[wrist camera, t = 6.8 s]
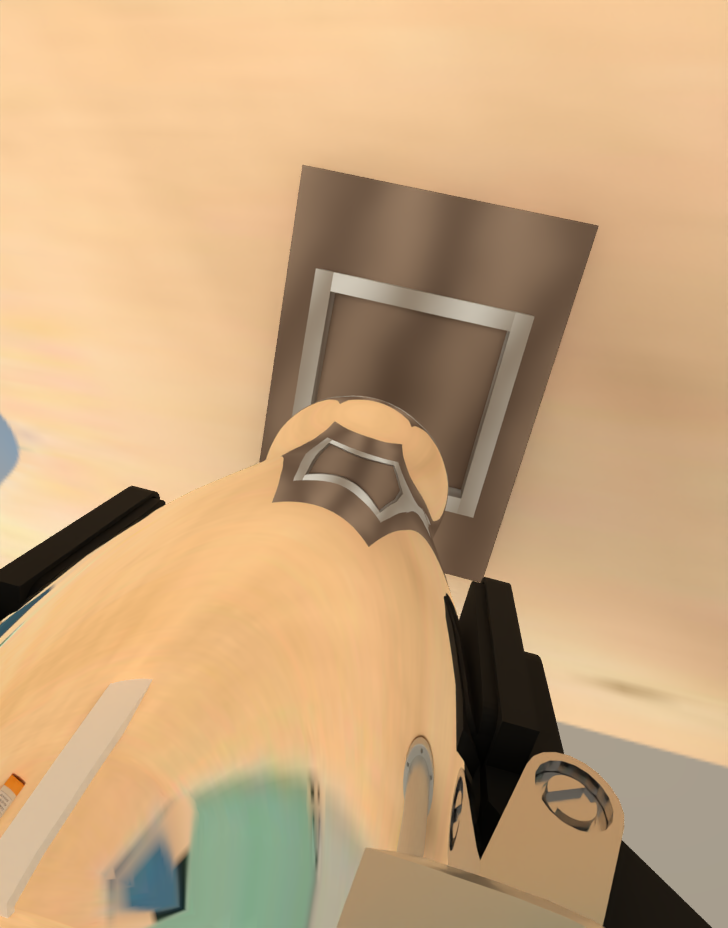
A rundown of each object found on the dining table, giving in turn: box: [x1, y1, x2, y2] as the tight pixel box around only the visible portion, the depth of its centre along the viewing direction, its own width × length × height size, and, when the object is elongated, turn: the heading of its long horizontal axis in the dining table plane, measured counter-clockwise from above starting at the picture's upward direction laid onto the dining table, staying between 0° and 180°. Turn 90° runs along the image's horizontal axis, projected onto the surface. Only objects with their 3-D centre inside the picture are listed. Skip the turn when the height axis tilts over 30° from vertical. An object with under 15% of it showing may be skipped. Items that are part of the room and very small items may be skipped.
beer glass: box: [0, 395, 483, 928], centre depth 11 cm, size 7×7×15 cm
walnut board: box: [259, 165, 598, 582], centre depth 32 cm, size 16×22×3 cm
